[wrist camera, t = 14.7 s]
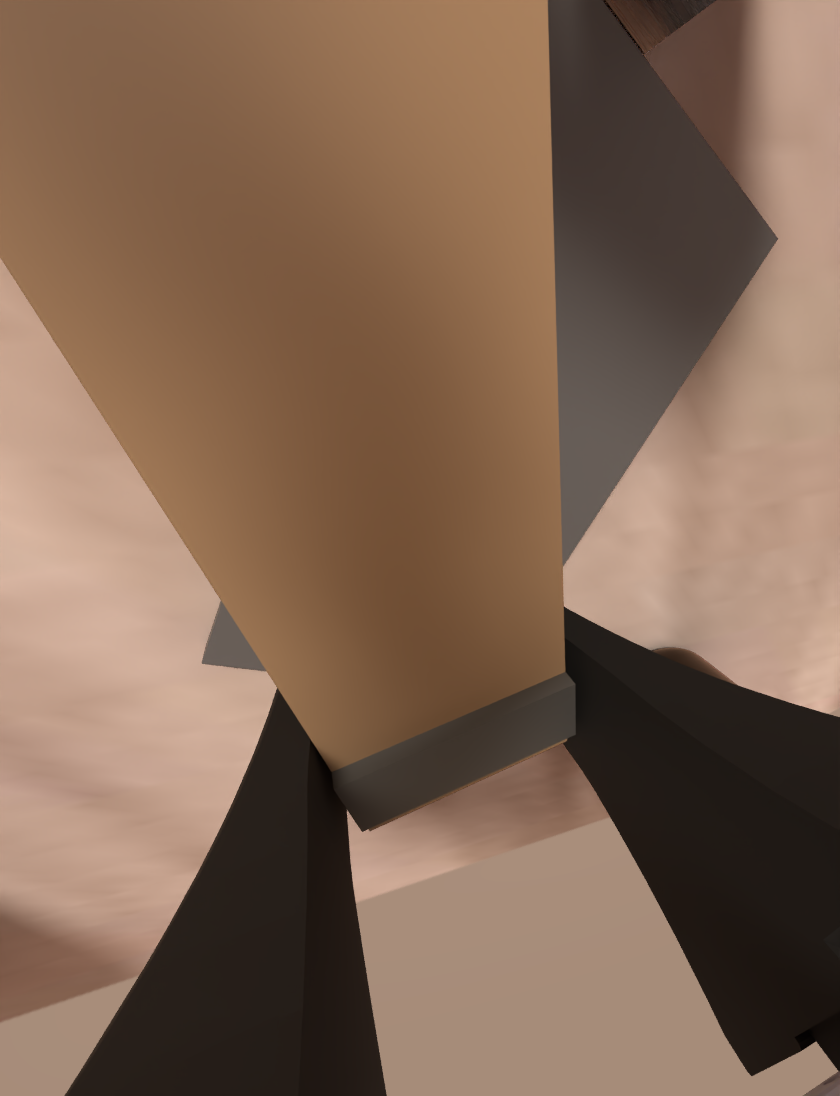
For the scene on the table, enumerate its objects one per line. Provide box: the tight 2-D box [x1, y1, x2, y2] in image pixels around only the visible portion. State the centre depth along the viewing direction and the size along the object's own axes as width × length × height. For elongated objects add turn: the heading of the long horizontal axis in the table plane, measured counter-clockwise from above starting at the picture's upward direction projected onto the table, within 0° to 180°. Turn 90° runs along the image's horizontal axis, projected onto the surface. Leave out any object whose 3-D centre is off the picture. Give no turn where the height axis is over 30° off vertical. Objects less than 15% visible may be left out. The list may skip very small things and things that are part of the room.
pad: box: [202, 0, 778, 671], centre depth 10 cm, size 9×15×1 cm, turn 154°
